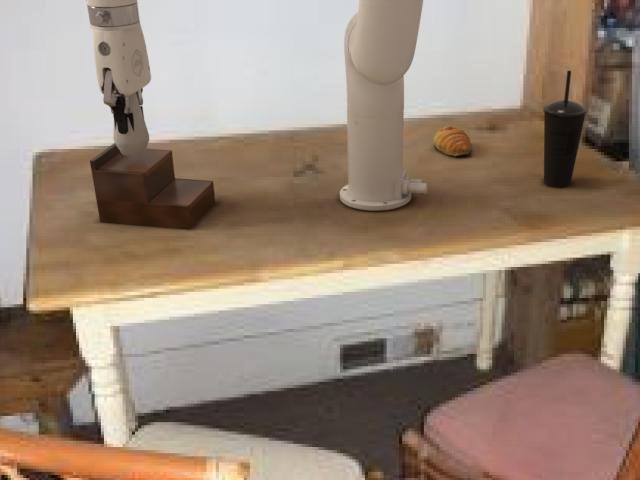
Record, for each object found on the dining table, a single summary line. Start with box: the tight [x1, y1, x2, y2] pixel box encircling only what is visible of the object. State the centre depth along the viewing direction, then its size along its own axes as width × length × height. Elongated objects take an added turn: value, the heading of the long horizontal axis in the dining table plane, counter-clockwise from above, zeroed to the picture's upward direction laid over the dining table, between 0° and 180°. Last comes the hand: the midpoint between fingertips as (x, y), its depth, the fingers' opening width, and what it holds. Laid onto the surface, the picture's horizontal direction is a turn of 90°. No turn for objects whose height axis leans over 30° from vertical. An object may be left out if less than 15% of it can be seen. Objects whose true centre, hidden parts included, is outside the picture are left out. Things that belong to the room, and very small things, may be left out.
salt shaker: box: [112, 90, 150, 156], centre depth 151 cm, size 6×6×13 cm
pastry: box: [433, 125, 472, 157], centre depth 185 cm, size 9×7×4 cm
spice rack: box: [89, 142, 216, 230], centre depth 156 cm, size 16×12×11 cm
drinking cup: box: [542, 70, 588, 188], centre depth 165 cm, size 8×8×20 cm
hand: (131, 132), depth 152 cm, fingers closed on salt shaker, 3 cm apart
